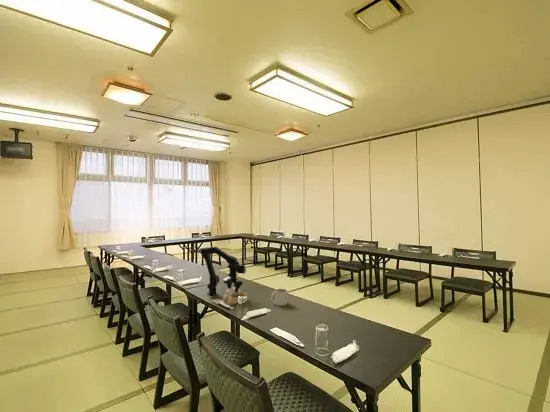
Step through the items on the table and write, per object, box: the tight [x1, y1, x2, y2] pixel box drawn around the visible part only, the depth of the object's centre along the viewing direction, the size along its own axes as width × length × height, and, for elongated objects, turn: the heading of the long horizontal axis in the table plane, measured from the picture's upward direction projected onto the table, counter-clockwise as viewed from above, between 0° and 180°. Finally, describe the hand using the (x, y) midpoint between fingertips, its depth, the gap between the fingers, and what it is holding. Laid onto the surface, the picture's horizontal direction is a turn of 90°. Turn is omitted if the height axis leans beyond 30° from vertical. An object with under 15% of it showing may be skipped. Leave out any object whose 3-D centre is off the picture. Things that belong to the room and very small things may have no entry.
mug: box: [270, 288, 288, 307], centre depth 207 cm, size 11×10×10 cm
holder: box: [222, 290, 248, 306], centre depth 213 cm, size 11×16×5 cm
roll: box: [225, 286, 241, 297], centre depth 225 cm, size 10×6×6 cm, turn 135°
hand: (232, 291), depth 225 cm, fingers open, 9 cm apart
